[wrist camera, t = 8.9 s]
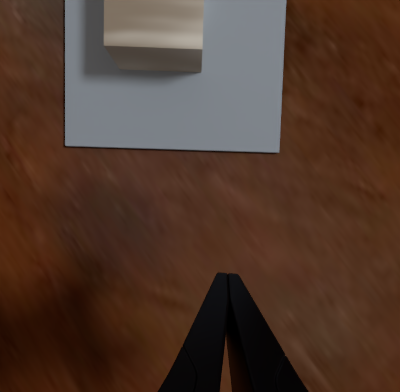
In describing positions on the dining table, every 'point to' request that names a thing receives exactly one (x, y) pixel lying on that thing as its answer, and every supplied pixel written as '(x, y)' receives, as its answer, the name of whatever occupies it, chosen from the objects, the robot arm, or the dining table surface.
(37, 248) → the dining table surface
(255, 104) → the mat
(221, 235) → the dining table surface
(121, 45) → the beige streaked block
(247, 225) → the dining table surface
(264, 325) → the robot arm
